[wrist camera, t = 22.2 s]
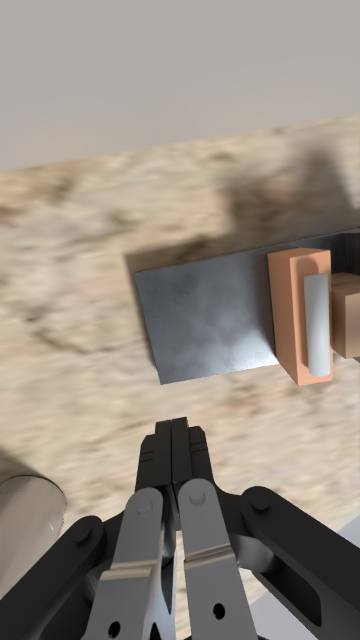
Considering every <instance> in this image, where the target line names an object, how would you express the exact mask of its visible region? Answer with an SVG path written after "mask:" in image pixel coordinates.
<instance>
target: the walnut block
mask: <svg viewBox="0 0 360 640" xmlns="http://www.w3.org/2000/svg"><path fill="white" fill-rule="evenodd" d="M331 306H332V349H333V350H334V351H336V352H337V353H338V354H340V355H341V356H342V357H344V358H345V359H348V358H353V357H359V356H360V276H359V275H354V274H349V273H345V272H340V273H335V274H331Z"/></svg>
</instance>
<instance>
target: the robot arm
mask: <svg viewBox="0 0 360 640" xmlns="http://www.w3.org/2000/svg"><path fill="white" fill-rule="evenodd" d="M65 510H66V500H65V497H64V495H63V494H62V492H61V491H60V489H58V488H57V487H56V486H55V485H54V484H52V483H51V482H49V481H47V480H44V479H42V478H38V477H34V476H18V477H15V478H11V479H9V480H7V481H5V482H4V483H3V484H2V485H1V486H0V640H176V632H175V601H176V574H177V550H176V531H179V530H182V537H183V545H184V554H185V560H184V572H185V581H186V590H187V599H188V608H189V617H190V626H191V636H189V637H188V638H186V639H184V640H268V639H266V638H264V637H261V636H259V635H257V633H256V630H255V626H254V622H253V619H252V616H251V612H250V609H249V605H248V601H247V597H246V594H245V590H244V587H243V583H242V580H241V576H240V572H239V569H238V567H240V568H244V569H248V570H251V572H252V573H253V575H254V576H255V577H256V578H257V579H258V580H259V581H260V582H261V583H262V584H263V585H264V586H265V587H266V588H267V589H268V590H269V591H270V592H271V593H272V594H273V595H274V596H275V597H276V598H277V599H278V600H279V601H280V602H281V603H282V604H283V605H284V606H285V607H286V608H287V609H288V610H289V611H290V612H291V613H292V614H293V615H294V616H295V617H296V618H297V619H298V620H299V621H300V622H301V623H302V624H303V625H304V626H305V627H306V628H307V629H308V630H309V631H310V632H311V633H312V634H313V635H314V636H315V637H316V638H317V639H318V640H360V548H358V547H357V546H355V545H353V544H352V543H351V542H349V541H348V540H346V539H345V538H343V537H341V536H340V535H339V534H337V533H336V532H334V531H333V530H331V529H330V528H328V527H327V526H325V525H323V524H322V523H320V522H319V521H317V520H316V519H314V518H313V517H311V516H310V515H308V514H307V513H305V512H304V511H302V510H301V509H299V508H298V507H296V506H295V505H293V504H292V503H290V502H289V501H287V500H286V499H284V498H283V497H281V496H280V495H278V494H277V493H275V492H273V491H272V490H270V489H268V488H266V487H262V486H254V487H251V488H248V489H247V490H245V491H244V492H243V494H242V495H234V494H229V493H226V492H224V491H222V490H221V489H220V488H219V487H218V486H217V485H216V483H215V481H214V479H213V473H212V468H211V463H210V458H209V452H208V447H207V442H206V437H205V432H204V431H203V430H202V429H201V427H200V426H194V427H189V425H188V421H187V417H182V418H176V419H172V421H171V420H166V421H160V422H156V426H155V434H152V435H146V437H145V439H144V440H143V442H142V444H141V449H140V456H139V464H138V471H137V478H136V486H135V493H134V494H133V495H132V496H131V497H130V499H129V500H128V502H127V504H126V507H125V510H124V511H122V512H121V513H120V514H118V515H116V516H114V517H112V518H110V519H108V520H106V521H105V522H102V520H101V519H100V518H99V517H97V516H92V515H91V516H86V517H83V518H81V519H79V520H78V521H76V522H75V523H74V524H73V525H72V526H71V527H70V528H69V529H68V530H67V531H66V532H65V533H64V534H63V535H62V536H61V537H60V538H59V539H58V537H59V535H60V532H61V529H62V527H63V524H64V521H63V516H64V513H65Z"/></svg>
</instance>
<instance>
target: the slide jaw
mask: <svg viewBox="0 0 360 640" xmlns="http://www.w3.org/2000/svg"><path fill="white" fill-rule="evenodd" d="M267 256H268V267H269V278H270V289H271V300H272V311H273V322H274V333H275V344H276V354H277V361H278V362H279V363H280V364H281V366H282V367H283V368H284V369H285V370H286V372H287V373H288V374H289V375H290V377H291V378H292V379H293V380H294V381H295V383H296V384H297V385H298V386H301V385H306V384H312V383H318V382H323V381H329V380H333V352H332V306H331V259H330V250H322V249H312V248H301V247H299V248H294V249H289V250H284V251H279V252H274V253H269V254H267Z"/></svg>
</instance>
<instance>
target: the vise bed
mask: <svg viewBox="0 0 360 640" xmlns="http://www.w3.org/2000/svg"><path fill="white" fill-rule="evenodd" d="M299 247H301V248H312V249H322V250H330V259H331V274H335V273H340V272H345V273H349V274H354V275H359V276H360V227H359V228H354V229H349V230H344V231H339V232H334V233H329V234H324V235H319V236H314V237H309V238H304V239H299V240H294V241H289V242H284V243H279V244H274V245H269V246H264V247H259V248H254V249H249V250H244V251H239V252H234V253H229V254H224V255H219V256H214V257H209V258H203V259H198V260H193V261H188V262H183V263H178V264H173V265H168V266H163V267H158V268H153V269H148V270H143V271H138V272H136V273H135V274H134V277H135V281H136V286H137V290H138V294H139V298H140V302H141V306H142V310H143V314H144V318H145V322H146V326H147V330H148V334H149V339H150V343H151V347H152V351H153V355H154V359H155V363H156V367H157V371H158V375H159V379H160V383H161V385H162V384H168V383H173V382H179V381H184V380H190V379H195V378H201V377H206V376H212V375H217V374H223V373H228V372H234V371H239V370H245V369H250V368H256V367H261V366H266V365H272V364H277V363H279V362H278V361H277V354H276V344H275V333H274V322H273V311H272V300H271V289H270V278H269V267H268V256H267V254H269V253H274V252H279V251H284V250H289V249H294V248H299ZM332 352H333V353H337V352H336V351H334V350H333V349H332ZM353 358H354V359H355V360H356V361H358V362H359V363H360V356H359V357H353Z"/></svg>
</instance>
